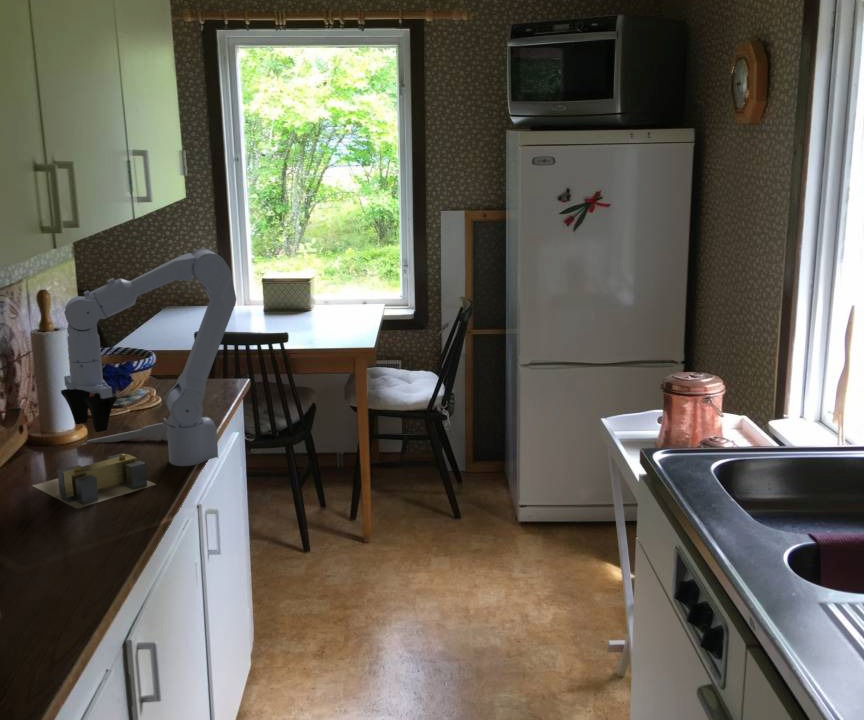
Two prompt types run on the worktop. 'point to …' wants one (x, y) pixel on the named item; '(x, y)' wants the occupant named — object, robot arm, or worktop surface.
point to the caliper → (135, 434)
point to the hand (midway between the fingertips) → (91, 427)
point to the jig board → (103, 493)
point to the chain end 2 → (134, 474)
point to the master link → (99, 472)
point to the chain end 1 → (79, 488)
